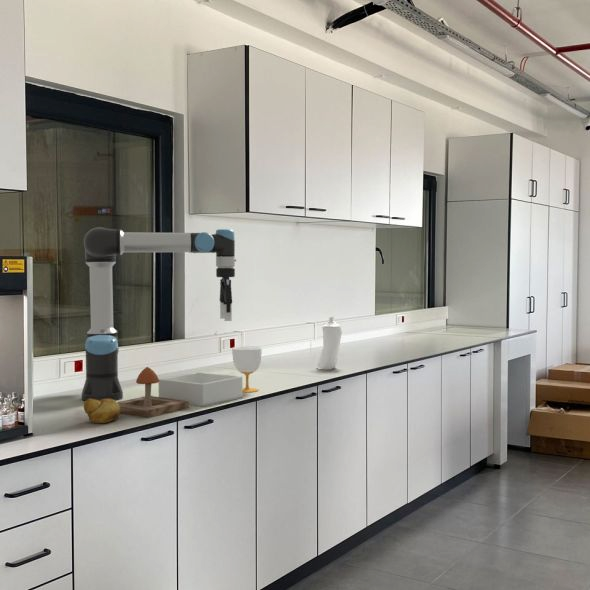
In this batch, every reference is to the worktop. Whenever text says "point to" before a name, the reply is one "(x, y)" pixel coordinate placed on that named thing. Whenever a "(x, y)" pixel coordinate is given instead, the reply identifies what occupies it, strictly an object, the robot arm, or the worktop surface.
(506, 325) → the worktop surface
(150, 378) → the mushroom
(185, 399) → the bin
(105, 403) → the bread roll
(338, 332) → the spray can
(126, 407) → the board
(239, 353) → the cup
